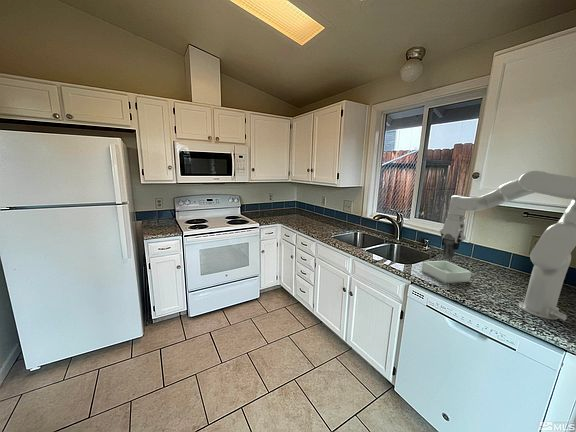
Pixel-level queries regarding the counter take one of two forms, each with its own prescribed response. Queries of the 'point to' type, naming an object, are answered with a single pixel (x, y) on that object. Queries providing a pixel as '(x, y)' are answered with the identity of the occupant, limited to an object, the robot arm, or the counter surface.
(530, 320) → the counter surface
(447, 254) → the beverage cup
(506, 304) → the counter surface
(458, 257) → the counter surface
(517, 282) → the counter surface
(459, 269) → the bin
